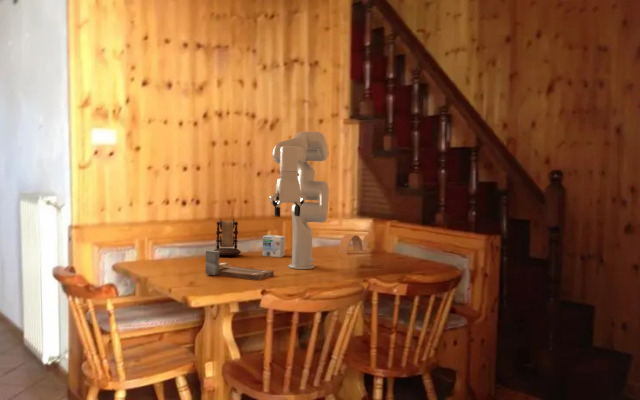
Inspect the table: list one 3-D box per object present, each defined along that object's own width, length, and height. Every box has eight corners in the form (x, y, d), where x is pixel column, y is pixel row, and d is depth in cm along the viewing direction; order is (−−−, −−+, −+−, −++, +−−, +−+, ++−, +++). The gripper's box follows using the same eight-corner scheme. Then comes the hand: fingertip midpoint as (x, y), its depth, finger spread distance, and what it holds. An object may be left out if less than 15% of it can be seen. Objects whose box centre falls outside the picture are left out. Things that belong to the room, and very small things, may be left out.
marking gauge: (221, 269, 304) (221, 248, 303) (230, 270, 302) (231, 249, 301) (205, 273, 293) (205, 251, 292) (214, 274, 291) (215, 252, 290)
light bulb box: (261, 256, 356) (262, 235, 355) (266, 254, 362) (267, 234, 361) (280, 257, 353) (281, 237, 352) (285, 255, 359) (285, 235, 358)
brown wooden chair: (214, 258, 344) (214, 219, 342) (211, 253, 358) (211, 216, 357) (242, 257, 348) (243, 219, 346) (238, 253, 362) (239, 216, 360)
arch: (337, 253, 374) (338, 235, 373) (353, 249, 391) (354, 233, 390) (347, 254, 371) (347, 236, 370) (362, 250, 388) (363, 233, 387)
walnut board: (224, 269, 309) (224, 265, 309) (273, 275, 298) (273, 270, 297) (207, 274, 296) (207, 269, 296) (257, 280, 285) (257, 275, 285)
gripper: (300, 175, 288) (299, 215, 289) (266, 175, 279) (265, 216, 280) (310, 176, 282) (309, 216, 283) (275, 175, 272) (274, 217, 273)
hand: (287, 216), depth 281 cm, fingers open, 9 cm apart
